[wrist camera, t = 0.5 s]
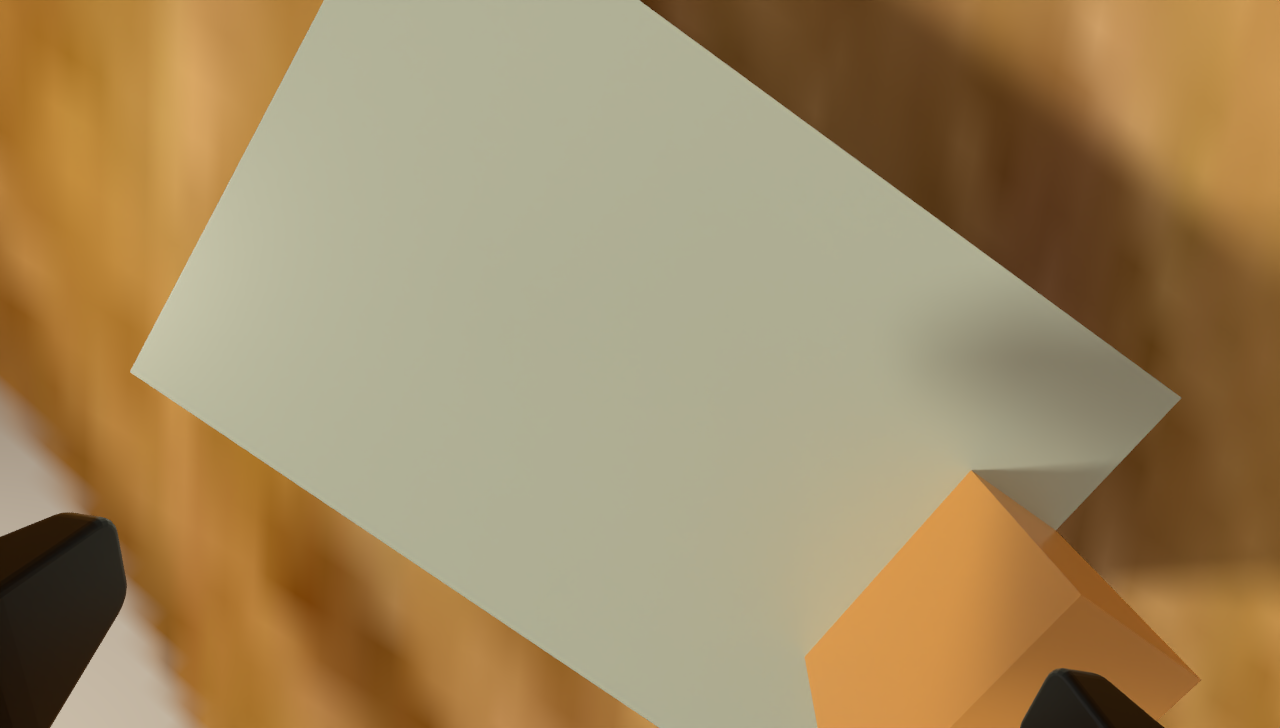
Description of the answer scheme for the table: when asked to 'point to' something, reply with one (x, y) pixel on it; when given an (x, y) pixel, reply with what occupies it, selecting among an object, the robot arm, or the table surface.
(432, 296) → the lid
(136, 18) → the table surface
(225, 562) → the table surface
